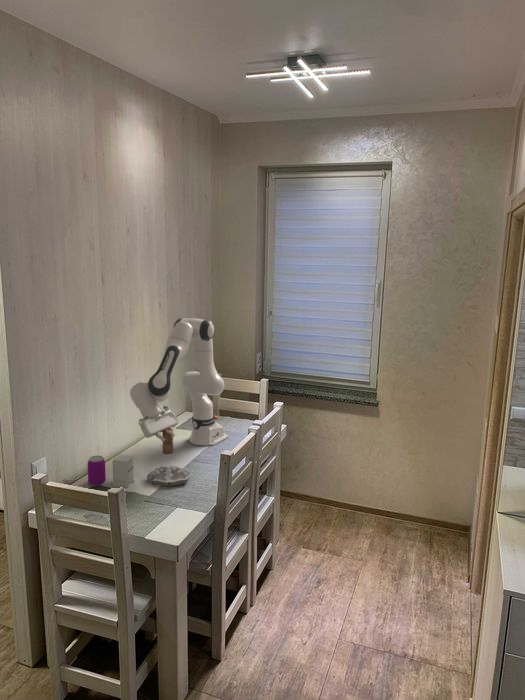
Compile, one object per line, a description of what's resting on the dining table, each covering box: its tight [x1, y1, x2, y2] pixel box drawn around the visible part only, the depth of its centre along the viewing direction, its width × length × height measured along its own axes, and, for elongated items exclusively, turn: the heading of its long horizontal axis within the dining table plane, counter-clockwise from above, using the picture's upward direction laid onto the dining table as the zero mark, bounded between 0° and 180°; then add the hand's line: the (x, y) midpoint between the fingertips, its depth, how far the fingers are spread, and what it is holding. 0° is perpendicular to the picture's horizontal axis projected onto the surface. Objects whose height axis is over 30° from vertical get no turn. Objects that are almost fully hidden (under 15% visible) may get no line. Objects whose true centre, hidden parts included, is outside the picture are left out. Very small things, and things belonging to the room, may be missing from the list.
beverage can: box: [87, 455, 107, 487], centre depth 232 cm, size 8×8×12 cm
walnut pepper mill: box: [161, 430, 174, 455], centre depth 235 cm, size 5×5×10 cm
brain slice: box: [146, 465, 190, 487], centre depth 239 cm, size 20×17×3 cm
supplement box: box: [111, 453, 135, 489], centre depth 232 cm, size 7×7×13 cm
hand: (169, 438), depth 235 cm, fingers closed on walnut pepper mill, 5 cm apart
